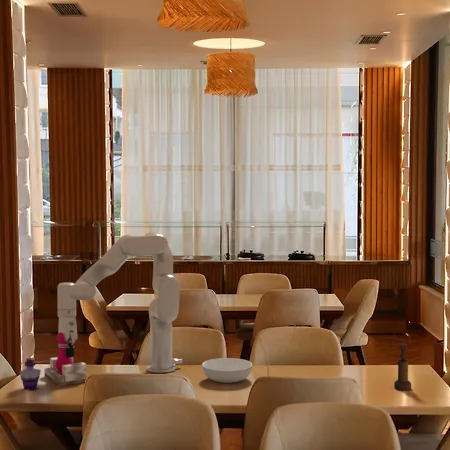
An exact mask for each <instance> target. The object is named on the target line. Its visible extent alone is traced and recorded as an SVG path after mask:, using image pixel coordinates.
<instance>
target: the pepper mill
mask: <svg viewBox="0 0 450 450" xmlns="http://www.w3.org/2000/svg"><path fill="white" fill-rule="evenodd" d="M56 340H57V342H58V345H57V347H58V350H59V351H58V355H57V357H58V358H57V361H56V368H57V369H58V371H57V373H59V374H60V375H62V365H67V364H73V363H74V360H73V361H72V358H71V357H70V358H67V357H66V348H67V344H66V341H65V338H64V335H63V333H62V332H60V333H59V332H58V334H57V335H56ZM68 340H71V339H68Z"/></svg>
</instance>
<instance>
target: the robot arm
mask: <svg viewBox="0 0 450 450" xmlns="http://www.w3.org/2000/svg"><path fill="white" fill-rule="evenodd" d="M145 256H146V257H147V256H152V260H153V268H152V269H153V270H152V289H153V291H154V292H156V293H157V297H155V298H153V299H152V300H151V301H150V303H149V306H148V314H149V315H148V317H149V327H150V328H149V329H150V330H149V331H150V333H149V334H150V336H149V337H150V338H149V340H150V344H149V346H150V350H149V351H150V352H149V353H150V365H147V366H146V370H147V371H148V372H151V373H156V374H158V373H159V374H161V373H162V374H163V373H164V374H165V373H170V372H174V371H176V370H175V369H177V366H176V365H177V364H183V359H182V358H173V323H172V322H174V321H175V320H176V319H177V317H178V315H179V310H180V299H181V298H180V296H181V294H180V293H181V285H180V281H179V280H178V279H177V277H176V276H174V257H173V252H172V249H171V248H170V246H169V242H168V239H167V238H166V237H165V236H164V235H163V234H160V233H157V232H148V233H145V234H144V235H129V234H124V235H122V236H120V237H119V238H118V239H117V240H116V242H115V243H114V244H113V245H112V246H111V247H109V249H108V250H107V251H106V252H105V254H104V255H102V257H100V258H99V259H98V260H97V261H96V262H95V263H94V264H93V265H91V266H90V267H89V268H88V269H87V270H86V271H85V272H84V273H83V274H82V275H81V276H79V278H78V279H77V280H76V282H75V283H74V282H59V283H58V285H57V317H58V334H59V333H60V332H62V333H63V335H64V338H65V341H66V344H67V348H66V357H67V358H70V357H73V358H74V356H75V343H76V341H77V340H78V329H77V328H78V326H77V319H76V318H77V301H90V300H92V299H94V298H95V296H96V295H97V289H96V286H97V285H98V284H99V283H100V282H101V281H102V280H104V279H105V278H106V277H109V276H111V275H113V274H116V272H117V271H118V270H119V269H120V268H121V266H122V265H124V264H125V262H127V260H128V259H129V258H130V257H145ZM68 339H71V340H68Z"/></svg>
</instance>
